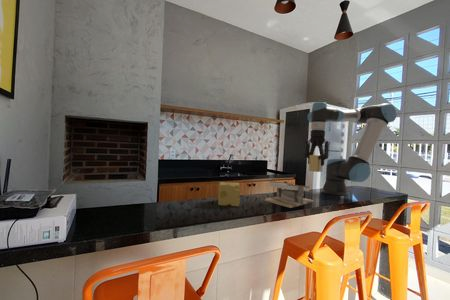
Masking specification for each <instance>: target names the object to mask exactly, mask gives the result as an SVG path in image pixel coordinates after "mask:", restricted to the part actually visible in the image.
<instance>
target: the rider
mask: <svg viewBox="0 0 450 300" xmlns="http://www.w3.org/2000/svg"><path fill="white" fill-rule="evenodd" d="M320 159H321V158H320V154H319V155H318V154H317V155H316V154H313V155H310V160H309V164H308V171H309V172H316V173H318V172H319V173H320V172H321V173H322V172H323V167H324V166H322V171H319V160H320Z"/></svg>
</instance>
